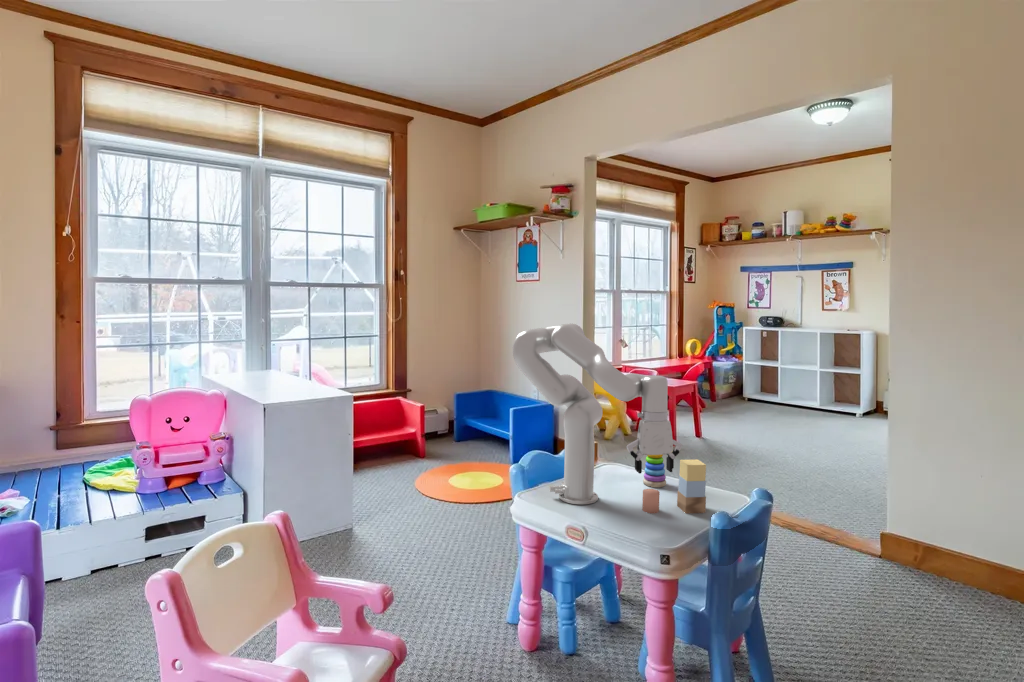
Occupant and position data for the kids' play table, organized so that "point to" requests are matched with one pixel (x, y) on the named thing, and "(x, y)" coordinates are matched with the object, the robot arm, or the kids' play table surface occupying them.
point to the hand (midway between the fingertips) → (654, 471)
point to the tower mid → (692, 488)
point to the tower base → (691, 504)
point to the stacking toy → (654, 471)
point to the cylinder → (650, 501)
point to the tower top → (692, 470)
